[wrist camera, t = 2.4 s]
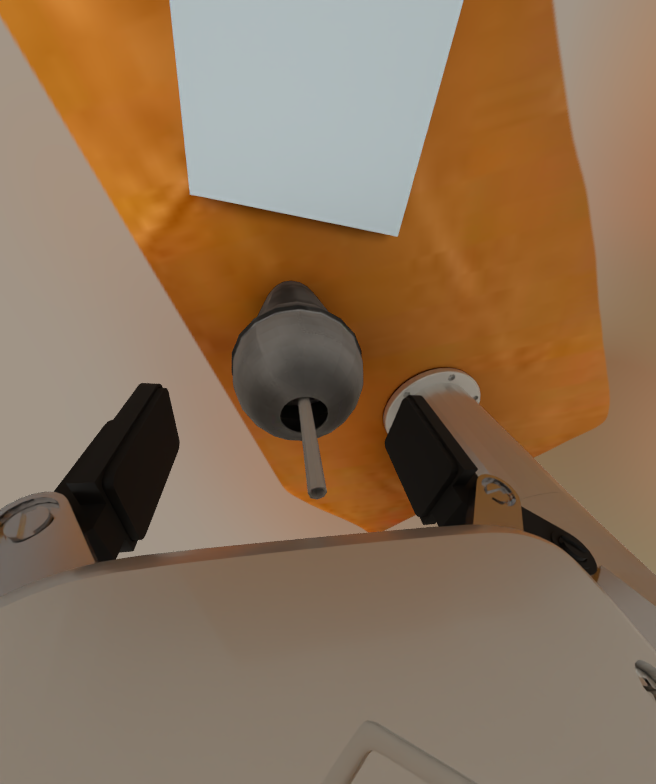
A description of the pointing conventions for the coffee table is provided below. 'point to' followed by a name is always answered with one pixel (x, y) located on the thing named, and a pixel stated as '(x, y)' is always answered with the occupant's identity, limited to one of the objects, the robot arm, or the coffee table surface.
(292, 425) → the beverage cup
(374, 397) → the coffee table surface
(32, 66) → the coffee table surface
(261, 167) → the plate
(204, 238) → the coffee table surface
